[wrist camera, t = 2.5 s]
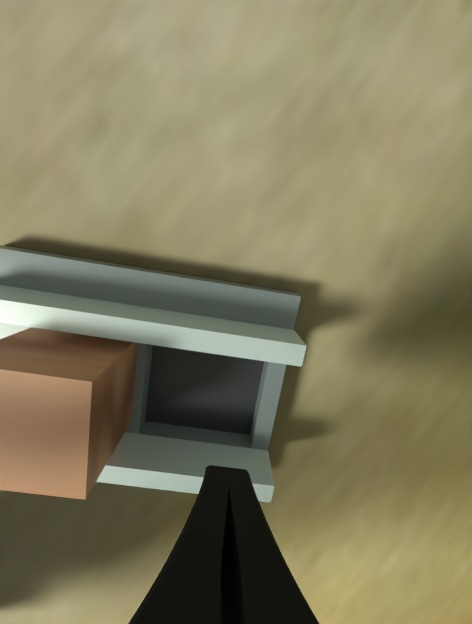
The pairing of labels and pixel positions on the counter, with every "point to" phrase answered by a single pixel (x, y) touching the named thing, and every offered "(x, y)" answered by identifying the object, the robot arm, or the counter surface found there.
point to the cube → (62, 409)
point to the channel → (170, 359)
